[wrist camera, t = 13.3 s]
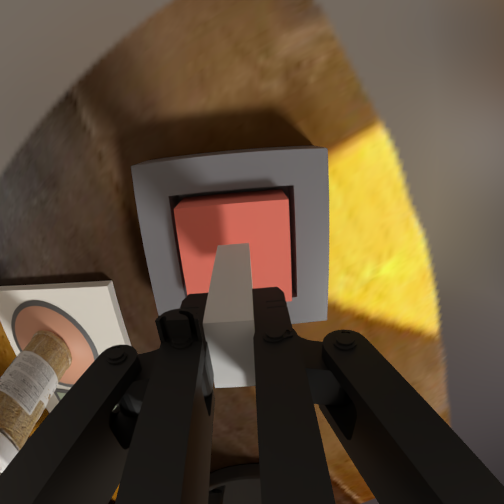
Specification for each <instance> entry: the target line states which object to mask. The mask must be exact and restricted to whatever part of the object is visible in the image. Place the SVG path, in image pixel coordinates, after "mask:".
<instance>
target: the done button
mask: <svg viewBox="0 0 504 504" xmlns="http://www.w3.org/2000/svg"><path fill="white" fill-rule="evenodd" d="M174 216H175V223H176V230H177V236H178V243H179V249H180V255H181V261H182V267H183V273H184V279H185V284H186V290H187V295H189V294H196V293H208V292H209V287H210V282H211V276H212V271H213V266H214V261H215V256H216V251H217V246H218V245H229V244H241V243H249V248H250V260H251V272H252V284H253V288H266V287H278V288H279V289H281V290H282V291H283V292H284V295H285V299H286V302H288V301H292V280H291V247H290V220H289V199H288V198H287V196H286V195H285V193H284V192H283V190H282V189H278V190H263V191H250V192H238V193H226V194H216V195H205V196H195V197H186V198H183V199H182V200H181V201H180V202H179V203H178V205H177V206H176V207H175V208H174Z"/></svg>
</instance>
